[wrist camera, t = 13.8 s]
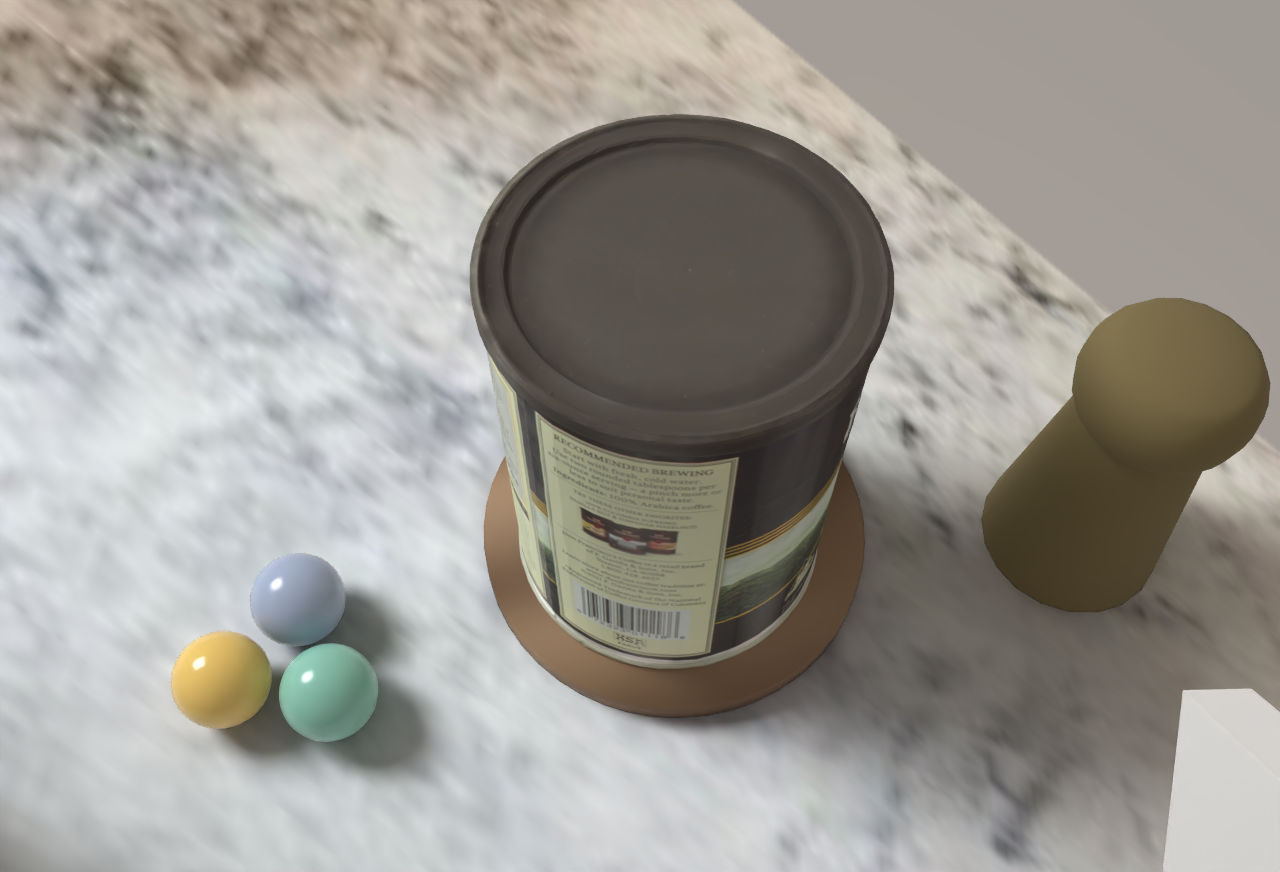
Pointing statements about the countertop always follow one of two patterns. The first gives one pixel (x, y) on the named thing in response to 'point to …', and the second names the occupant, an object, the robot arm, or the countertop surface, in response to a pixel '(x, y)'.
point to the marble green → (328, 692)
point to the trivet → (692, 686)
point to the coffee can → (676, 375)
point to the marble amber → (221, 679)
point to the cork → (1125, 453)
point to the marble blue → (297, 599)
